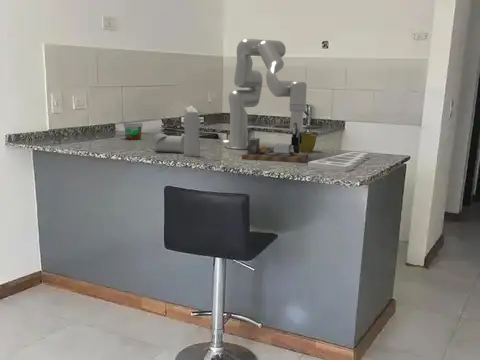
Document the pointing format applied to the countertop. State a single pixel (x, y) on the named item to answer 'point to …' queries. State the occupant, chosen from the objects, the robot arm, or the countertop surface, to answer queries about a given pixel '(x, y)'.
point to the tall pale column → (192, 134)
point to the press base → (270, 154)
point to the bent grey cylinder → (168, 143)
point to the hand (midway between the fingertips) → (296, 144)
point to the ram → (287, 147)
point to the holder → (339, 161)
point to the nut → (262, 149)
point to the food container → (133, 131)
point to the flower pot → (307, 142)
